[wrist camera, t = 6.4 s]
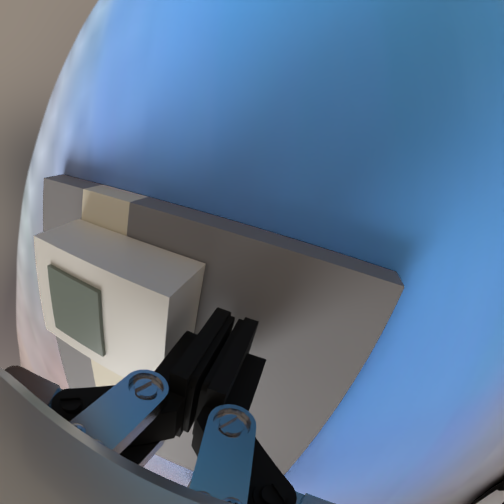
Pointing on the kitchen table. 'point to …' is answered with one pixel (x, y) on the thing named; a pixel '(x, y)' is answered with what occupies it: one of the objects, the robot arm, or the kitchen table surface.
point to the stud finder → (115, 295)
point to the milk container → (492, 495)
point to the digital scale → (249, 307)
